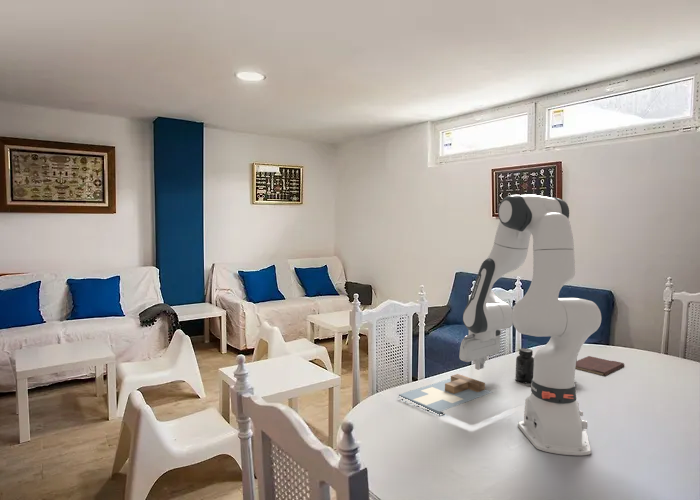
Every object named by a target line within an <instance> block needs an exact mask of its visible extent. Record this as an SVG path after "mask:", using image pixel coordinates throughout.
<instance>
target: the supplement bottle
mask: <svg viewBox="0 0 700 500" xmlns="http://www.w3.org/2000/svg"><path fill="white" fill-rule="evenodd" d="M533 371H534V354H533V349H530V348H522V347H521V348H519V349H518V355H517V356H516V358H515V380H516V381H517V382H519V383H523V384H531V382H532V379H533Z"/></svg>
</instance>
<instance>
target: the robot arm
mask: <svg viewBox="0 0 700 500" xmlns="http://www.w3.org/2000/svg"><path fill="white" fill-rule="evenodd" d="M497 213H498V214H497V215H498V219H499V223H498V225H497V229H496V231H495V237H494V241H493V246H492V249H491V251H490V252H489V254H488V257H487V258H485V259H484V261H483V262H482V263H481V265H480V268H479V270H478V273H477V275H476V279H475V281H474V285H473V288H472V291H471V294H470V297H469V299H468V302H467V305H466V306H465V307H464V310H463V313H462V322H463V325H464V327H466V329H467V330H468V335H464V338H463V339H462V340H461V343H460V347H459V354H458V355H459V360H461V362H462V361H463V362H466V363H469V362H472V361H473V363H474V369H475V370H478V371H479V370H482V369H484V368H485V363H486V360H487V357H490V356H493V355H496V354H499V352H500V350H501V335H502V330H506V329H510V328H511V327H512V326H513V328H514V329H515V330H516V331H517V332H518V333H519V334H521V335H526V336H531V337H539V338H540V337H550V339H549V341H548V342H547V343H546V344H545V345H544V346H542V347H540V348H539V349H538V350H537V351H535V354H534V355H533V358H534V371H533V379H532V382H531V383H530V387H531V388H530V392H531V393H530V395H529V396H527V397H526V398H525V399H524V400H525V403H524V411H523V413H524V414H523V420H521V421H518V423H517V427H518V428H519V430H521V432H522V433H523V435H525V437H526V438H527V439H528V440H529V442H530V443H531V444H532V445H533V447H535V449H537V450H540V451H543V452H546V453H551V454H557V455H565V456H587V455H588V456H589V455H591V454H592V449H591V444H590V441H589V436H588V432H587V430H588V421H587V420H582V419H581V417H583V416H584V412H583V411H582V410H580V407H579V406H580V402H579V401H577V387H576V384H575V378H576V376H575V375H576V369H575V367H576V360H577V361H578V356H579V352H580V350H582V347H583V345H584V344H585V342H586V341H587V339H588V338H589V337H591V335H593V334H594V333H595V332H597V331H598V330H599V328H600V326H601V323H602V313H601V309H600V308H599V306H598V305H597V303H596V302H594V301H592V300H588V299H585V298H578V297H559V295H560V291H561V290H562V287H563V286H565V285H566V284H568V283H570V282H571V281H572V280H573V279H574V278H575V276H576V267H575V266H576V265H575V264H576V261H575V245H574V235H573V230H572V226H571V221H570V219H569V218H570V208H569V206H568V203H567V202H566V201H565V200H564V199H562V198H558V197H554V196H550V197H549V196H544V195H537V194H521V195H520V194H511V195H507V196H505V197H504V198H503V199H501V202H500V203H499V206H498V211H497ZM531 235H532V240H533V241H532V251H533V252H532V255H533V256H532V257H533V259H532V261H533V262H532V264H533V266H532V267H533V268H532V278H531V283H530V285H529V288H528V289H527V292H526V293H525V294H524V296H523V297H522V298H521V299H519V300H518V301H517V302H516V303H515V304H514V305H513V306H512V305H511V304H509V303H508V302H505V301H503V300H502V299H500V298H499V297H498V296H497V295H496V294H495V292H494V290H492V288H493V287H494V284H495V283H496V282H497V281H498V280H499V279H500V278H502V277H504V276H505V275H507V274H510V273H512V272H514V271H516V270H519V268H521V266H523V265H524V263H525V261H526V259H527V256H528V252H529V245H530V241H531Z"/></svg>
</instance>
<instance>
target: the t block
mask: <svg viewBox="0 0 700 500" xmlns="http://www.w3.org/2000/svg"><path fill="white" fill-rule="evenodd" d="M450 378H451V382H448V383H445V391H447V392H450V393H453V394H455V393H458V392H461V391H464V390H467V389H470V390H473V391H476V392H480V391H483V390H485V389H486V382H484V381H480V380H477V379H474V378H472V377H468V376H465V375H463V374H460V373H456V374H452V375H450Z"/></svg>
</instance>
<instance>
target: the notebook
mask: <svg viewBox="0 0 700 500" xmlns="http://www.w3.org/2000/svg"><path fill="white" fill-rule="evenodd" d="M624 367H625V363H624V362H620V361H616V360H609V359H608V360H607V359H605V358H600V357H599V358H598V357H595V356H590V355H588V356H586V357H583V358H580V359H577V361H576V367H575V370H579V371H582V372H588V373H590V374H591V373H592V374H595V375H600V376H602V377H606V376H608V375H610V374H612V373H614V372H616V371H618V370H620V369H622V368H624Z"/></svg>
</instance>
